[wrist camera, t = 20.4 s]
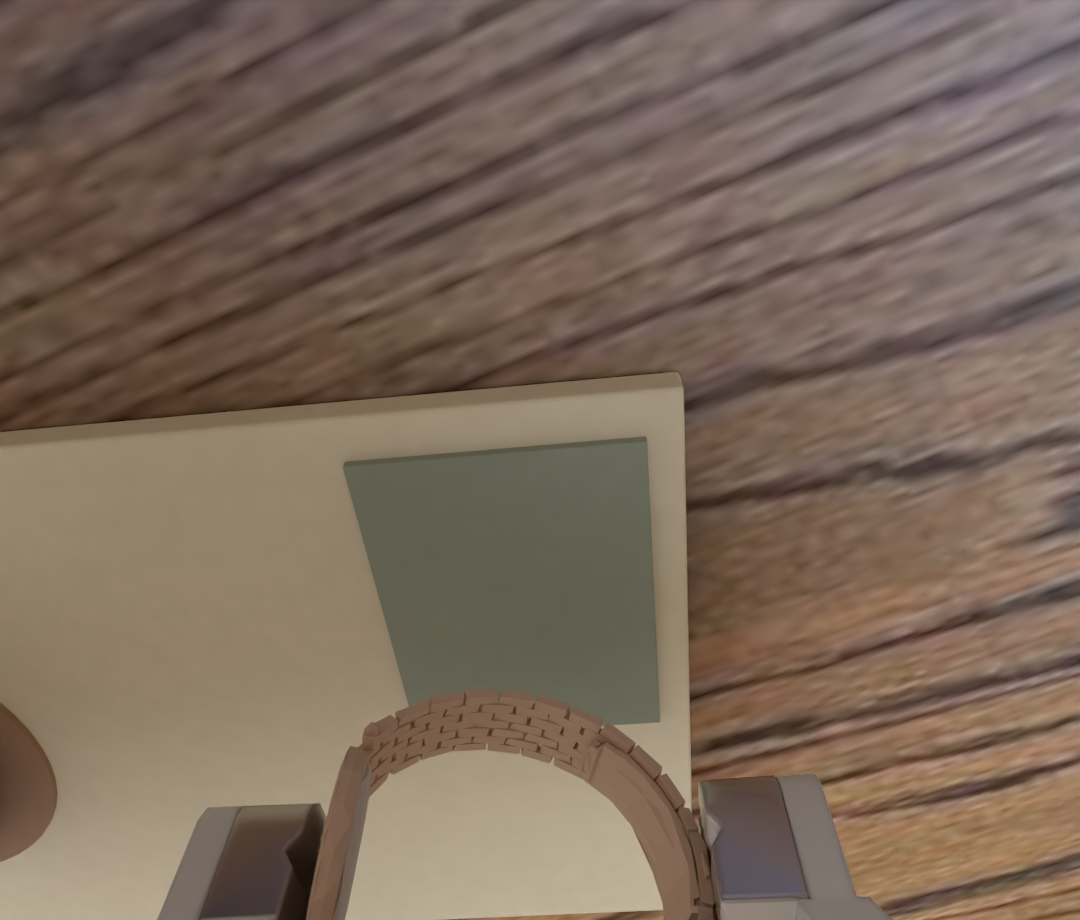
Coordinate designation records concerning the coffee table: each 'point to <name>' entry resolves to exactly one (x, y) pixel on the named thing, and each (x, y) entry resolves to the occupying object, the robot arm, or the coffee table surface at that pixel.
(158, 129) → the coffee table surface
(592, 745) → the perforated watch strap
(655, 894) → the mat
